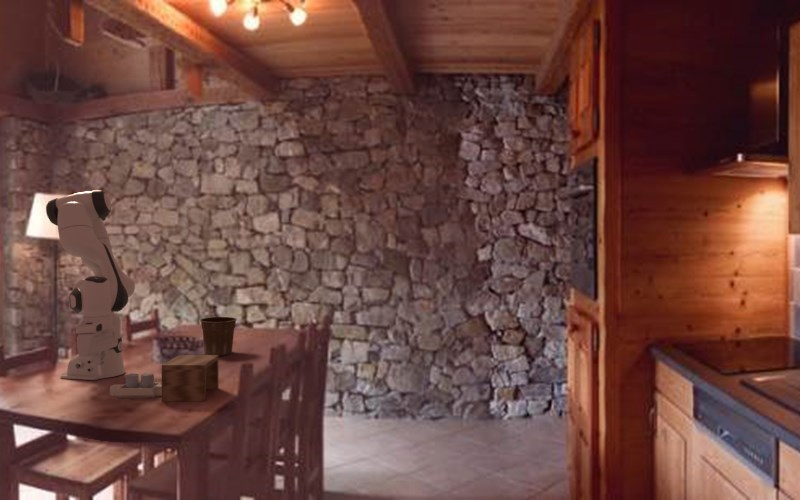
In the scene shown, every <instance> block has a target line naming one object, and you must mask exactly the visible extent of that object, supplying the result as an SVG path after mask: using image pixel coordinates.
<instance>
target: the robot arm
mask: <svg viewBox="0 0 800 500" xmlns="http://www.w3.org/2000/svg"><path fill="white" fill-rule="evenodd" d="M111 211H112V203H111V198H110V197H109V196H108V194H107V192H105V191H103V190H101V189H95V190H94V189H93V190H92V191H82V192H76V193H73V194H69V195H65V196H62V197H59V198H57V197H55V198H53V199H51V200H49V201H48V202H47V204H46V205H45V212H46V216H47V218H48V219H49V222H50V223H51V224H53V225H55V226H57V231H58V237H59V243H60V245H61V247H62V249H63V250H64V251H66V252H67V253H68V254H70V255H72V256H75V257H78V258H80V260H81V263H82V264H83V265H84V266H85V267H87V268H88V269H90V271H92V273H93V274H94V275H93V276H86V277H84V278H81V279H78V280H76V282H75V283H74V285H73V288H72V291H71V292H70V293H69V299H68V300H69V307H70V309H71V310H72V311H73V312H75V313H76V314H80V315H81V314H82V315H83V316H82V319H83V320H82V321H81V322H80V323H79V324H78V325H77V326H76V327H75V333H76V334H78V335H76V346H77V354H76V355H74V356H73V357H72V358H71V359H69V362H68V364H67V370H66V371H64V372H62V373H61V374H60V378H61V379H69V380H85V381H87V380H89V381H96V380H102V379H107V378H108V379H109V378H112V377H113V378H114V377H117V376H122V375H123V374H125V373H127V372H126V368H125V365H124V361H123V354H122V352H123V337H122V325H121V323H122V322H121V321H122V319H121V317H120V315H118V314H117V313H118V312H120V311H122V310H123V309H124V308H125V307H126V305H127V304H128V302H129V298H131V296H133V294H134V292H135V286H136V285H135V281H134V280H133V279H132V277H130V276H129V275H127V274H126V273H125V272H124V271H123V269H121V267H120V266H119V265H118V263H117V260H116V258H115V256H114V253H113V250H112V246H111V242H110V238H109V234H108V231H107V228H106V225H105V222H104V221H106V218H107V217H108V216H109V215H110V212H111ZM115 312H116V313H115Z"/></svg>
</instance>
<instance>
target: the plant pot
mask: <svg viewBox="0 0 800 500" xmlns="http://www.w3.org/2000/svg"><path fill="white" fill-rule="evenodd" d="M199 321H200V324H201V326H200V327H201V329H202V338H203V353H205V354H204V355H218V357H223V356H228V355H231V354H232V353H233V344H234V343H233V342H234V336H235V335H234V334H235V328H236V321H238V320H237V318H236V317H231V316H230V317H229V316H212V317H204V318H201V319H199Z"/></svg>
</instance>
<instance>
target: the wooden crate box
mask: <svg viewBox="0 0 800 500" xmlns="http://www.w3.org/2000/svg"><path fill="white" fill-rule="evenodd" d="M219 379H220V377H219V356H218V355H205V354H178V355H177V356H175V357H173V358H172V359H169V360H168V361H166V362H164V363H163V364H161V382H162V396H161V402H205V401H206V400H207V390H218V389H220V388H219V385H220V384H219Z"/></svg>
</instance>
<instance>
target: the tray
mask: <svg viewBox="0 0 800 500" xmlns="http://www.w3.org/2000/svg"><path fill="white" fill-rule="evenodd" d="M139 376H140V378H139ZM139 379H140V382H139ZM154 381H155V374H154V373H144V374H141V375H139V374H138V373H129V374H125V383H124V384H123V383H122V384H116V383H115V384H112V385H110V386H109V397H116V398H117V399H154V398H155V397H160V396H161V397H162V381H161V382H160V381H159V382H156V381H155V382H154Z"/></svg>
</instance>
